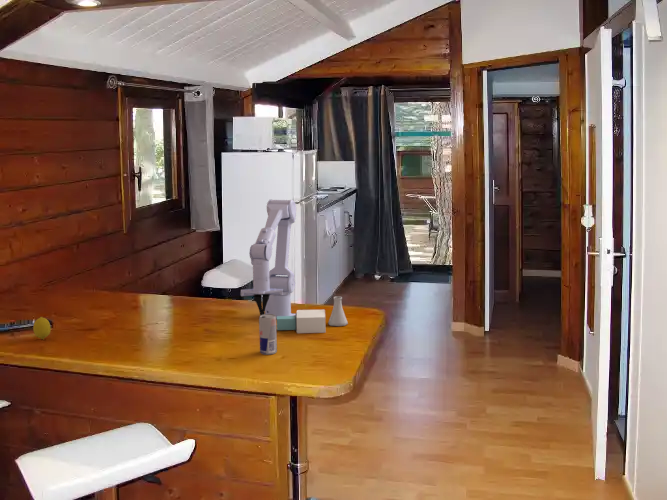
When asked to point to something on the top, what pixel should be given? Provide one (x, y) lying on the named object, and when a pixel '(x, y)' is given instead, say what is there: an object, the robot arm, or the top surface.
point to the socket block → (310, 321)
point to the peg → (286, 323)
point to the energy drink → (267, 334)
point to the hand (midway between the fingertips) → (262, 315)
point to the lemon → (41, 328)
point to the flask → (337, 314)
